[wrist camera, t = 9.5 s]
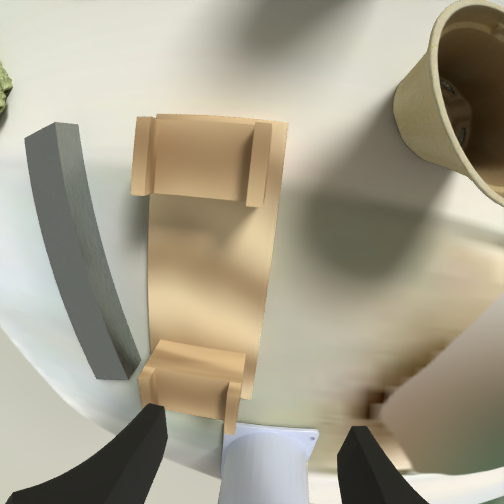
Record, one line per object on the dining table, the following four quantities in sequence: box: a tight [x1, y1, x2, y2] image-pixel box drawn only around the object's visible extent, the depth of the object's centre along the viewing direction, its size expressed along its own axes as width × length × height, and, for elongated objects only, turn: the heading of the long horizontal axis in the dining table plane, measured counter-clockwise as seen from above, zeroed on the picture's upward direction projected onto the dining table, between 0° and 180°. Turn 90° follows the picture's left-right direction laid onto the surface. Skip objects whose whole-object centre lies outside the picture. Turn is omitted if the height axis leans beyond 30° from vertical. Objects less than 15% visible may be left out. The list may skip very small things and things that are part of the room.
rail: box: [24, 122, 141, 380], centre depth 19 cm, size 18×3×3 cm, turn 10°
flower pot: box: [393, 0, 504, 207], centre depth 12 cm, size 9×9×9 cm
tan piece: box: [131, 114, 288, 435], centre depth 17 cm, size 19×8×5 cm, turn 174°
